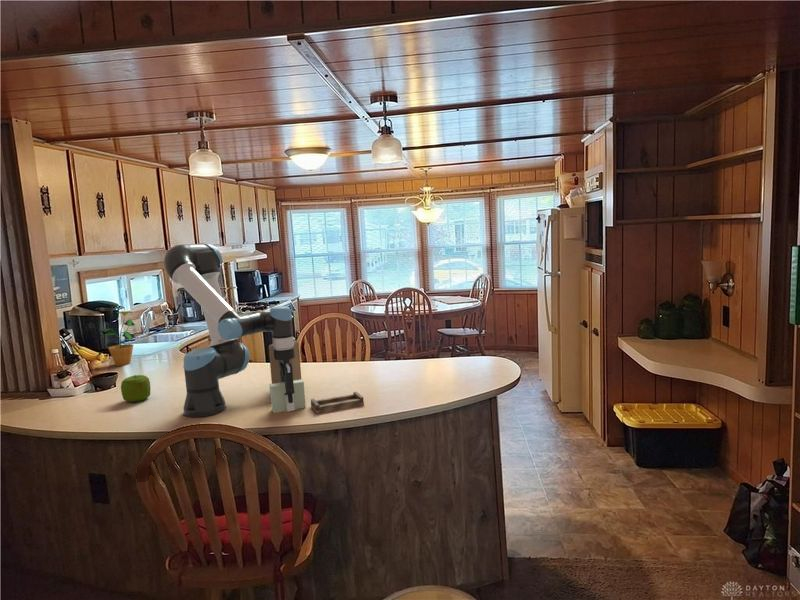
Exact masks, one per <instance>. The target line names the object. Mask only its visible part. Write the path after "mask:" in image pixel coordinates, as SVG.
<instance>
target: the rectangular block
mask: <svg viewBox="0 0 800 600" xmlns="http://www.w3.org/2000/svg"><path fill="white" fill-rule="evenodd" d="M293 384H294V391H295V392H294V393H293V395H294V407H295V410H299V409H298V408H300V409H304V407H306V406H307V405H306V395H305V381H304V380H303V379H302V378H301V380H294V381H293ZM269 393H270V404H271V412H272V414H276V412H277V413H281V412H282V411H283V412H287V411H286V410H287V404H286V395H284V393H286V387H285V382H281V383H275V384H272V383H270V384H269ZM306 408H307V407H306Z"/></svg>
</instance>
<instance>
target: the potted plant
mask: <svg viewBox="0 0 800 600" xmlns="http://www.w3.org/2000/svg"><path fill="white" fill-rule="evenodd" d="M116 313H117V314H121V315H123V317H126V316H127V314H128V315H129V313H131V314H132V313H133V312H132V311H116ZM124 325H125V326H128V327H127V328H126V330H125V331H122V330H123V327H124ZM132 326H136V324H135V323H134V322H133V321H132V319H131V318H129V319H128V320H126V322H125V319H123V321H122V325H121V329H120V332H119V335H117V334H116V332H115V331H114V330H113V329H112V328H106V329H104V328H102V329H101V328H99V329H98V330H99V331H100V332H101V333H102V334H103V335H105V336H108V337H109V336H110V337H111V336H112V337H117V338H118V339H119V344H117V345H113V346H109V347H108V351H109V353H110V355H111V357H112V360H113V363H114V365H115V367H122V366H126V365H130V364H131V361H132V355H133V349H134V344H131V343H126V344H123V343H122V337H123V338H126V339H128V340H133V339H134V337H135V334H134V333H133V334H132V333H130V332H128V329H129V327H132ZM110 330H111V331H112V332H110Z"/></svg>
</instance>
